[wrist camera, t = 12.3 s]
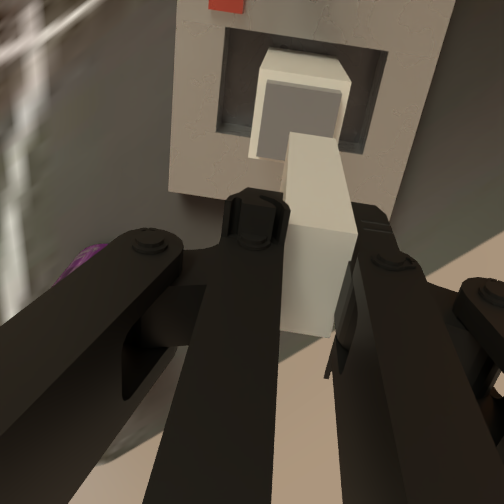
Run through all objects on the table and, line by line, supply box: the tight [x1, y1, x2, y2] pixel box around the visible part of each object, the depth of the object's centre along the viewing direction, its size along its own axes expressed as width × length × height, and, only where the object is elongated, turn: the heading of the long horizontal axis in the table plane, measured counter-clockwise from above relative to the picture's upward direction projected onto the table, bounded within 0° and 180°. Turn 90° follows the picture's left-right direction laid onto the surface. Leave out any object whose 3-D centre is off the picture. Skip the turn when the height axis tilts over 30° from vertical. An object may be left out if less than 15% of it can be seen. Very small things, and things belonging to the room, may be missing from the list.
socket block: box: [168, 0, 456, 220], centre depth 31 cm, size 16×16×4 cm
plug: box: [248, 47, 352, 163], centre depth 28 cm, size 4×4×11 cm
